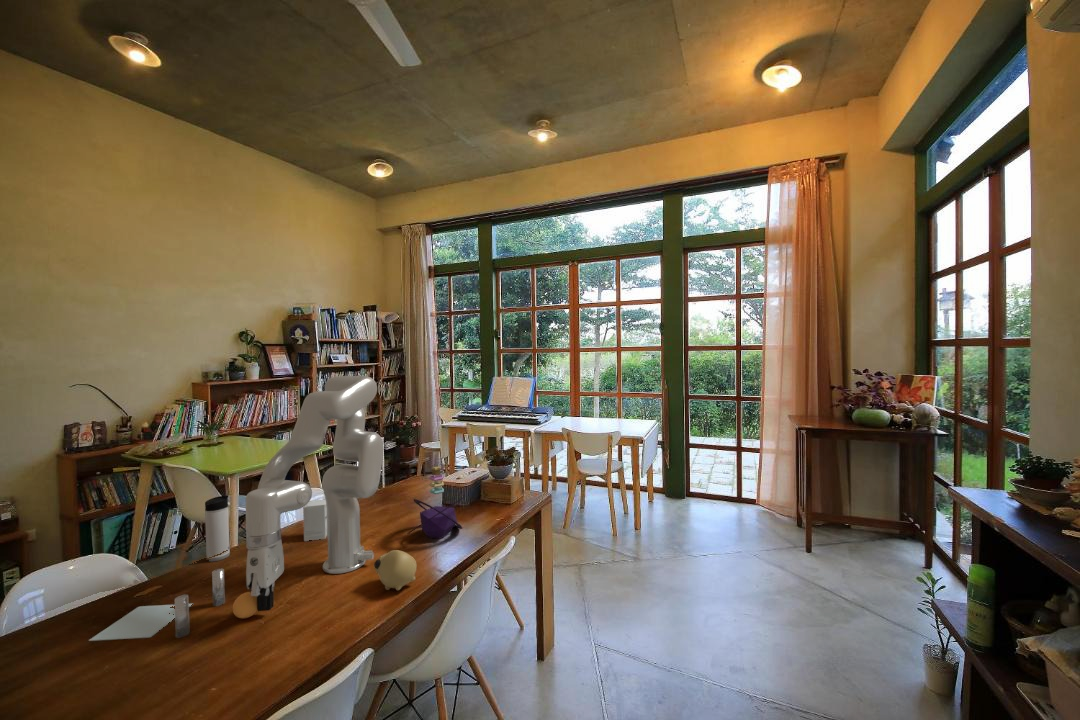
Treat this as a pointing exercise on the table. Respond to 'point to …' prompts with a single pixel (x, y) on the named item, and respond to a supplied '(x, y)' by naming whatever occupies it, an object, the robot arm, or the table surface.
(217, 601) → the post right
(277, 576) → the robot arm
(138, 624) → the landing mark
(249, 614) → the ball
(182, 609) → the post left
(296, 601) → the table surface
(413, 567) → the toy pig
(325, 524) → the supplement box
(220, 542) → the travel mug
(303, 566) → the table surface
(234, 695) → the table surface
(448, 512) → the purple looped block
